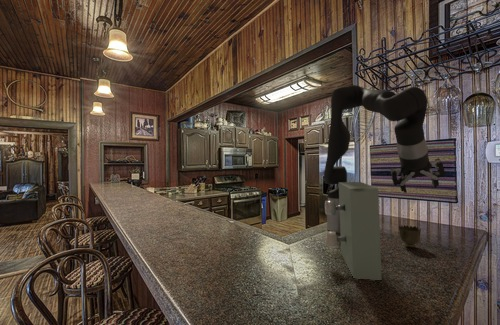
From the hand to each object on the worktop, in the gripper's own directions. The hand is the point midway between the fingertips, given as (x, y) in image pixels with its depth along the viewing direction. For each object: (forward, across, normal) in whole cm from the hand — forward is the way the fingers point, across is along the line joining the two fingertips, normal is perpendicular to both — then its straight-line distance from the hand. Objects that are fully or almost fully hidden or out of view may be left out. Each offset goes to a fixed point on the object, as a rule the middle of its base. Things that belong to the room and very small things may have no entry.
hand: (419, 188), depth 79 cm
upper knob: (-4, +27, +11) cm, 29 cm away
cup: (+30, +7, +1) cm, 31 cm away
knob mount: (+12, +24, +20) cm, 34 cm away
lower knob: (+5, +29, +17) cm, 34 cm away
